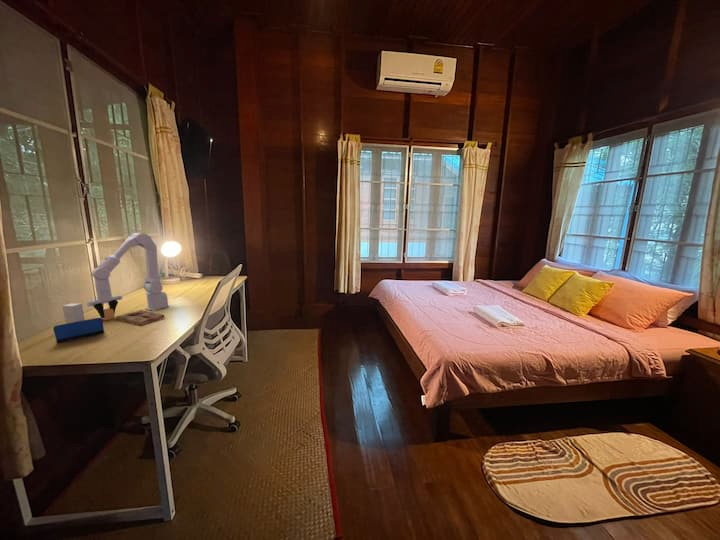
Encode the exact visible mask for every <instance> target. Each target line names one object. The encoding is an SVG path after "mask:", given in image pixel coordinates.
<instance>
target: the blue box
mask: <svg viewBox="0 0 720 540" xmlns="http://www.w3.org/2000/svg"><path fill="white" fill-rule="evenodd" d="M53 331H54V333H53V334H54V336H55V340H56V343H57V344H62V342H63V343H66V342H71V341H75V340H80V339H85V338H84V337H86V338H89V337H90V336H91V337H95V336H99V334H101V335H104V334H105V330H104V322H103V320H102V318H101V317H96V318H90V319H85V320H83V321H78V322H73V323H68V324H66V323H62V324H58V325H54V327H53ZM103 333H104V334H103ZM94 335H95V336H94ZM79 338H80V339H79Z"/></svg>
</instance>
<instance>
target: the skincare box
mask: <svg viewBox="0 0 720 540" xmlns="http://www.w3.org/2000/svg"><path fill="white" fill-rule="evenodd" d="M61 306H62V312H63V318H64V324H68V323H73V322H78V321H83V320H86V319H85V315H84V309H83V304H82V303H67V304H64V305H61Z"/></svg>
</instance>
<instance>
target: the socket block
mask: <svg viewBox="0 0 720 540" xmlns="http://www.w3.org/2000/svg"><path fill="white" fill-rule="evenodd" d="M115 317H116V318H115V319H116V321H118V320H119V322H122V321H123V323H126V322H127V324H130V323H132V324H131V325H134V324H136V325H135V326H138V325H141V326H145V325H147V323H148V324H151V323H154V322H157V320H158V321H160V319H161V320H163V318H164V319H165V314H162V313H157V312H154V311H150V310H148V311H147V310H145V309H144V310H143V309H139V310H135V311H131V312H129V313H123V314H120V315H116V316H115ZM153 321H154V322H153ZM150 322H151V323H150ZM144 324H145V325H144Z"/></svg>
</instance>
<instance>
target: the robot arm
mask: <svg viewBox="0 0 720 540" xmlns="http://www.w3.org/2000/svg"><path fill="white" fill-rule="evenodd" d="M138 246H140V247H141V248H143V249H144V250H145V263H146V264H145V266H146V278H145V280H144V281H145V283H144V285H143V290H144V291H146V301H147V307H145V308H144V310H147V309H148V311H151V310H154V311H157V309H158V310H161V308H162V309H165V308H168V307H170V305H169V301H168V300H169V299H168V294H167V293H166V292H165V291H163V288H164V287H163V285H162V283H161V279H160V278H159V270H158V266H159V265H158V250H157V248H158V247H157V244H156V243H155V242H154V240H153V238H152V237H151V236H150V235H149V234H147V233H145V232H133V233H131V235H129V236H127V238H126V239H125V240H124V242H123V243H122V244H121V245H120V246H119V248H117V250H116V251H115V252H114V253H113V254H112V255H111V254H110V255H108V256H105V257H104V258H103V259H104V260H103V261H102V262H101V263H100V264H98V265H97V267H96V268H94V269H93V270H92V273H91V276H92V278H93V279H94V285H95V292H96V297H97V299H94V300H91V301H88V302H86V304H87V305H86V306H87V307H93V308H94V309H95V310H96V311H97V313H98V314H99V318H104V311H103V309H105V308H104V307H105V306H104V305H103V304H106V303H107V304H108V306H109V307H108V308H111V309H113V311H114V316H115V313H116V308H117V306H118V303H119V300H121V301H122V300H123V296H122V295H115V296H112V291H111V283H110V279H109V277H110V276H111V272H113V270H114V269H116V268H117V266H118V265H119V264H120V263H121V258H122V257H123V256H124V255H125V254H126V253H127V252H128V251H129V250H130V249H131V248H134V247H138Z"/></svg>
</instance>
